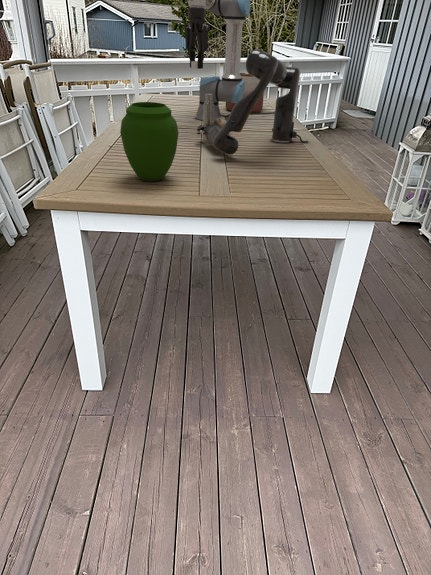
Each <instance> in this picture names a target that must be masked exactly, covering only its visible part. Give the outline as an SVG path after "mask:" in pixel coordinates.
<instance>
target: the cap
mask: <svg viewBox="0 0 431 575" xmlns="http://www.w3.org/2000/svg"><path fill="white" fill-rule="evenodd" d="M191 69H198V60H195V61H191Z"/></svg>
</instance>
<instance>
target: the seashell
mask: <svg viewBox="0 0 431 575" xmlns="http://www.w3.org/2000/svg"><path fill="white" fill-rule="evenodd" d="M226 122H227V119H226V117H223V116H221V118H218V119H216V120H215V121H213V124H215V125H218V126H220V127H223V126H224V125H225V123H226Z"/></svg>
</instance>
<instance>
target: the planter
mask: <svg viewBox="0 0 431 575" xmlns="http://www.w3.org/2000/svg"><path fill="white" fill-rule="evenodd" d="M240 75H241V76H242V81H243V82H245V91H244V95H243V98H244V97H245V96H246V95H248V94H249V93H250V92H252V91H253V90H254V89H255V87H256V86H257V85H258V83H259V81H260V80H259V79H257V78H256V77H254V76H252V75H250V74H249V73H248V72H240ZM264 95H265V91H264V92H263V94H262V95H261V97H260V98H259V100H258V101H257V103H256V104H255V106H254V107H253V109H252V111H251V113H261V112H262V111H263V108H264ZM235 104H236V103H230V102H225V109H226V110H227V111H229V112H231V111H232V109H233V107H234V106H235Z"/></svg>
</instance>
